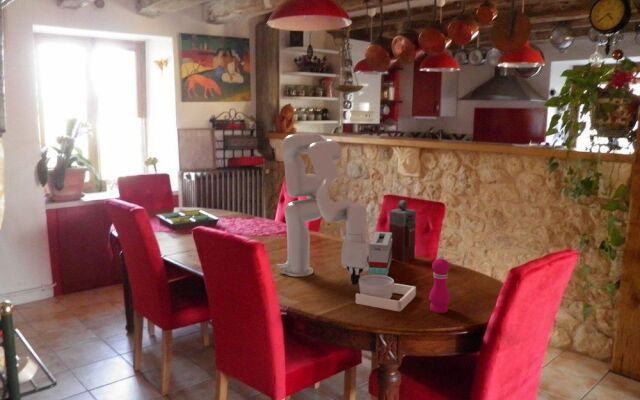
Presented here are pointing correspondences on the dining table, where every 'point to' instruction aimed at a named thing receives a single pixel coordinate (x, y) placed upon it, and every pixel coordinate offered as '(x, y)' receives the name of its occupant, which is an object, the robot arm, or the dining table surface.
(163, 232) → the dining table surface
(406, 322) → the dining table surface
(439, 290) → the pepper mill
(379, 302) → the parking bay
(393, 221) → the square decanter
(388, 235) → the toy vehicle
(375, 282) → the ramekin
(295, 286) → the dining table surface
